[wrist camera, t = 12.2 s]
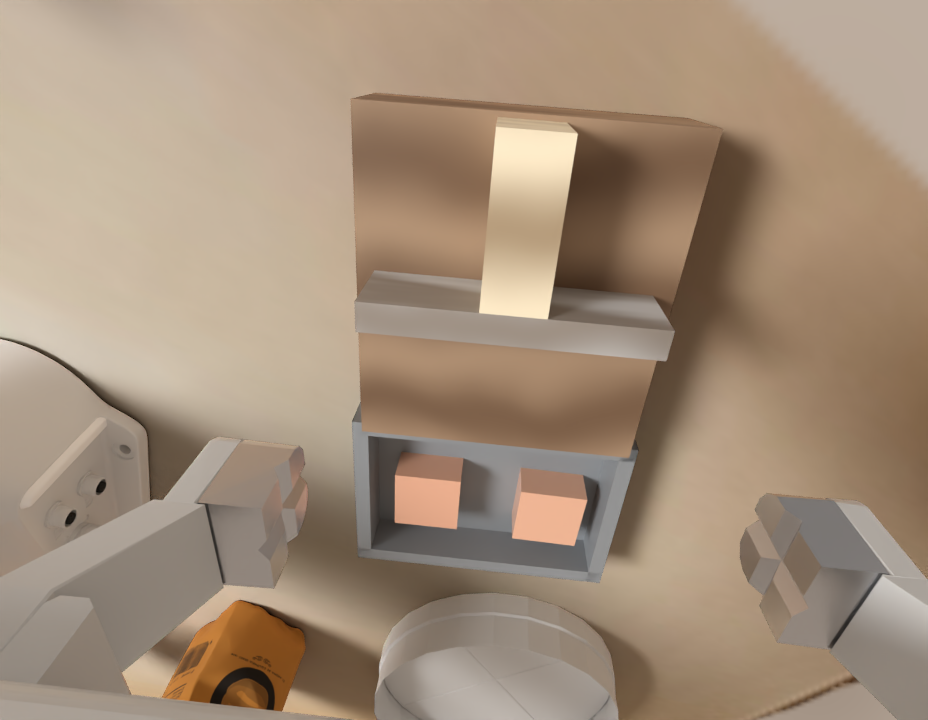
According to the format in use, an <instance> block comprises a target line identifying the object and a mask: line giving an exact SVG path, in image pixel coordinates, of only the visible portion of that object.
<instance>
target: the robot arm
mask: <svg viewBox="0 0 928 720" xmlns="http://www.w3.org/2000/svg"><path fill="white" fill-rule="evenodd" d="M304 465H305V461H304V453H303V449H302V448H301V447H299V446H294V445H286V444H278V443H270V442H261V441H253V440H241V439H233V438H225V437H216V438H214V439H212V440H210V441H209V442H208V444H207V445H206V446H205V447H204V449H203V450H202V451H201V453H200V454H199V455H198V456H197V458H196V459H195V460H194V461H193V463H192V464H191V465H190V466H189V468H188V469H187V470H186V471H185V473H184V474H183V475H182V476H181V478H180V479H179V480H178V481H177V483H176V484H175V485H174V487H173V488H172V489H171V490H170V492H169V493H168V494H167V495H166V497H165V498H164V499H163V500H156V499H154V500H152V501H150V486H149V464H148V442H147V433H146V431H145V429H144V428H143V426H142V425H141V424H139V423H138V422H137V421H135V420H134V419H132V418H131V417H129V416H128V415H126V414H124V413H122V412H120V411H119V410H117V409H115V408H113V407H111V406H109V405H108V404H106V403H105V402H104V401H103V400H101V399H100V398H99V397H98V396H97V395H96V394H95V393H94V392H93V391H92V390H91V389H90V388H89V387H88V386H87V385H86V384H85V383H83V382H82V381H81V380H80V379H79V378H78V377H76V376H75V375H74V374H73V373H71V372H70V371H69V370H67V369H66V368H65V367H63V366H62V365H60V364H58V363H57V362H55V361H54V360H52V359H50V358H48V357H47V356H45V355H43V354H41V353H39V352H37V351H35V350H32V349H30V348H27V347H25V346H22V345H19V344H17V343H13V342H10V341H6V340H2V339H0V720H352V719H343V718H334V717H326V716H317V715H308V714H299V713H290V712H281V711H273V710H264V709H255V708H246V707H237V706H228V705H220V704H211V703H202V702H193V701H184V700H175V699H166V698H158V697H149V696H140V695H131V692H130V690H129V688H128V686H127V683H126V681H125V679H124V676H123V674H122V672H123V671H124V670H126V669H127V668H128V667H129V666H130V665H131V664H133V663H134V662H135V661H136V660H137V659H139V658H140V657H141V656H142V655H143V654H145V653H146V652H147V651H148V650H149V649H151V648H152V647H153V646H154V645H155V644H157V643H158V642H159V641H160V640H161V639H163V638H164V637H165V636H166V635H167V634H169V633H170V632H171V631H172V630H173V629H175V628H176V627H177V626H178V625H179V624H181V623H182V622H183V621H184V620H185V619H187V618H188V617H189V616H190V615H191V614H193V613H194V612H195V611H196V610H197V609H199V608H200V607H201V606H202V605H203V604H205V603H206V602H207V601H208V600H209V599H211V598H212V597H213V596H214V595H215V594H217V593H218V592H219V591H220V590H221V589H222V588H223V585H235V586H248V587H260V588H273V589H274V588H275V586H276V583H277V581H278V579H279V577H280V574H281V572H282V570H283V568H284V565H285V563H286V561H287V559H288V557H289V554H288V546H287V543H288V542H289V541H291V540H292V539H293V538H295V537H296V536H298V534H299V531H300V529H301V527H302V524H303V521H304V517H305V513H306V508H307V498H308V491H307V483H306V482H305V481H304V479H303V478H302V477H301V476H300V473H301V471H302V469H303V467H304ZM755 512H756V514H757V516H758V518H759V520H758V521H756V522H755V523H753V524H752V525H750V526H748V527H747V528H746V529H745V532H744V534H743V537H742V539H741V542H740V560H741V565H742V569H743V572H744V574H745V576H746V578H747V581H748V583H749V584H751V585H752V586H753V587H754V588H755V589H756V590H758V591H759V592H760V593H761V594H762V595H763V596H762V599H761V602H760V605H759V606H760V608H761V610H762V613H763V615H764V617H765V619H766V621H767V623H768V625H769V627H770V629H771V631H772V634H773V636H774V638H775V640H776V642H777V643H784V644H792V645H799V646H807V647H814V648H821V649H829V650H831V651H830V653H831V654H832V655H833V656H834V657H835V658H836V659H837V660H838V661H839V662H840V663H841V664H842V665H843V666H844V667H845V668H846V669H847V670H848V671H849V672H850V673H851V674H852V675H853V676H854V677H855V678H856V679H857V680H858V681H859V682H860V683H861V684H862V685H863V686H864V687H865V688H866V689H867V690H868V691H869V692H870V693H871V694H872V695H873V696H874V697H875V698H876V699H877V700H878V701H879V702H880V703H881V704H882V705H883V706H884V707H885V708H886V709H887V710H888V711H889V712H890V713H891V714H892V715H893V716H895V718H896V719H897V720H928V579H926V577H925V576H924V575H923V574H922V573H921V571H920V570H919V569H918V568H917V567H916V565H915V564H914V563H913V562H912V561H911V559H910V558H909V557H908V556H907V554H906V553H905V552H904V551H903V550H902V548H901V547H900V546H899V545H898V544H897V542H896V541H895V540H894V539H893V537H892V536H891V535H890V534H889V533H888V531H887V530H886V529H885V528H884V527H883V525H882V524H881V523H880V522H879V521H878V519H877V518H876V517H875V516H874V514H873V513H872V512H871V511H870V510H869V508H868V507H867V506H865V505H864V504H862V503H860V502H859V501H856V500H844V499H831V498H826V499H823V498H813V497H803V496H792V495H781V494H771V493H766V494H765V495H764V496H763V497H762V498H760V500H759V502H758V504H757V506H756V508H755Z"/></svg>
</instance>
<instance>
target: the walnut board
mask: <svg viewBox="0 0 928 720" xmlns="http://www.w3.org/2000/svg"><path fill="white" fill-rule="evenodd" d="M498 117H504V118H516V119H529V120H541V121H553V122H565V123H568V124H569V125H570V126H571V127H572V128H573V129H574V130H575V131H576V132H577V133H578V136H577V142H576V148H575V154H574V161H573V167H572V173H571V179H570V185H569V191H568V198H567V204H566V210H565V216H564V222H563V229H562V235H561V241H560V247H559V253H558V260H557V266H556V272H555V278H554V284H553V287H562V288H573V289H584V290H595V291H606V292H617V293H628V294H639V295H650V296H654V298H655V300H656V301H657V303H658V304H659V306H660V308H661V309H662V311H663V312H664V314H665V316H666V317H667V319H668V320H669V317H670V313H671V310H672V306H673V303H674V299H675V296H676V292H677V289H678V285H679V282H680V278H681V275H682V271H683V268H684V264H685V261H686V257H687V254H688V250H689V247H690V243H691V240H692V236H693V233H694V229H695V226H696V222H697V219H698V215H699V212H700V208H701V205H702V201H703V198H704V194H705V191H706V187H707V184H708V180H709V177H710V173H711V170H712V166H713V163H714V159H715V156H716V152H717V149H718V145H719V142H720V138H721V135H722V131H723V129H721V128H718V127H715V126H712V125H708V124H705V123H702V122H699V121H696V120H692V119H689V118H679V117H667V116H654V115H642V114H630V113H617V112H605V111H593V110H580V109H568V108H556V107H543V106H531V105H519V104H506V103H494V102H482V101H469V100H457V99H445V98H432V97H420V96H407V95H395V94H383V93H373V94H369V95H365V96H360V97H356V98H352V99H351V124H352V154H353V184H354V214H355V243H356V273H357V297H358V295H359V294H360V292H361V291H362V289H363V288H364V286H365V284H366V283H367V281H368V280H369V278H370V277H371V275H372V274H373V272H374V270H375V271H386V272H397V273H408V274H419V275H430V276H441V277H452V278H463V279H474V280H482V276H483V265H484V253H485V242H486V231H487V220H488V209H489V198H490V187H491V176H492V165H493V154H494V143H495V132H496V124H497V118H498ZM358 333H359V362H360V392H361V422H362V431H365V432H375V433H385V434H395V435H405V436H415V437H425V438H435V439H445V440H455V441H465V442H475V443H485V444H495V445H505V446H515V447H525V448H535V449H545V450H555V451H565V452H575V453H584V454H594V455H604V456H614V457H624V458H629V456H630V453H631V449H632V446H633V442H634V439H635V435H636V432H637V428H638V425H639V421H640V418H641V414H642V411H643V407H644V404H645V400H646V397H647V394H648V390H649V387H650V383H651V380H652V376H653V373H654V369H655V366H656V362H657V360H646V359H636V358H625V357H615V356H604V355H594V354H583V353H572V352H562V351H551V350H541V349H530V348H519V347H509V346H498V345H488V344H477V343H466V342H456V341H445V340H435V339H424V338H413V337H403V336H392V335H382V334H371V333H360V332H358Z"/></svg>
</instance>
